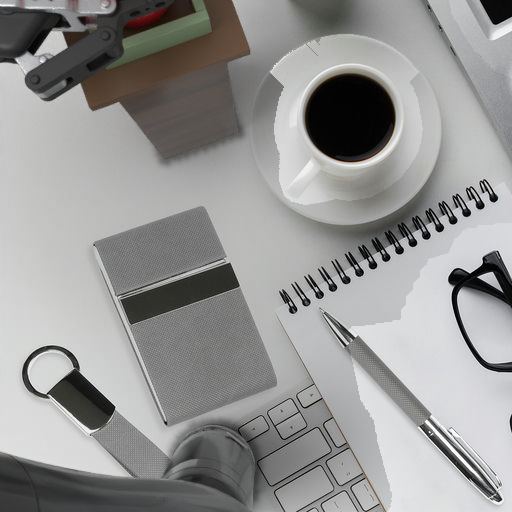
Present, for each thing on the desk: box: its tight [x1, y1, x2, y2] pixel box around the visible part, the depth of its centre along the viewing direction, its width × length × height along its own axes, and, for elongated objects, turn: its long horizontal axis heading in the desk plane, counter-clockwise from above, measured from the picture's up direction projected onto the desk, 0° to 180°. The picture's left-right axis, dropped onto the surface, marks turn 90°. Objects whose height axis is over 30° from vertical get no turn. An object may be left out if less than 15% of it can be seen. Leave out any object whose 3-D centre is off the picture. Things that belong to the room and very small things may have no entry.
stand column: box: [118, 63, 239, 160], centre depth 63 cm, size 9×9×29 cm
